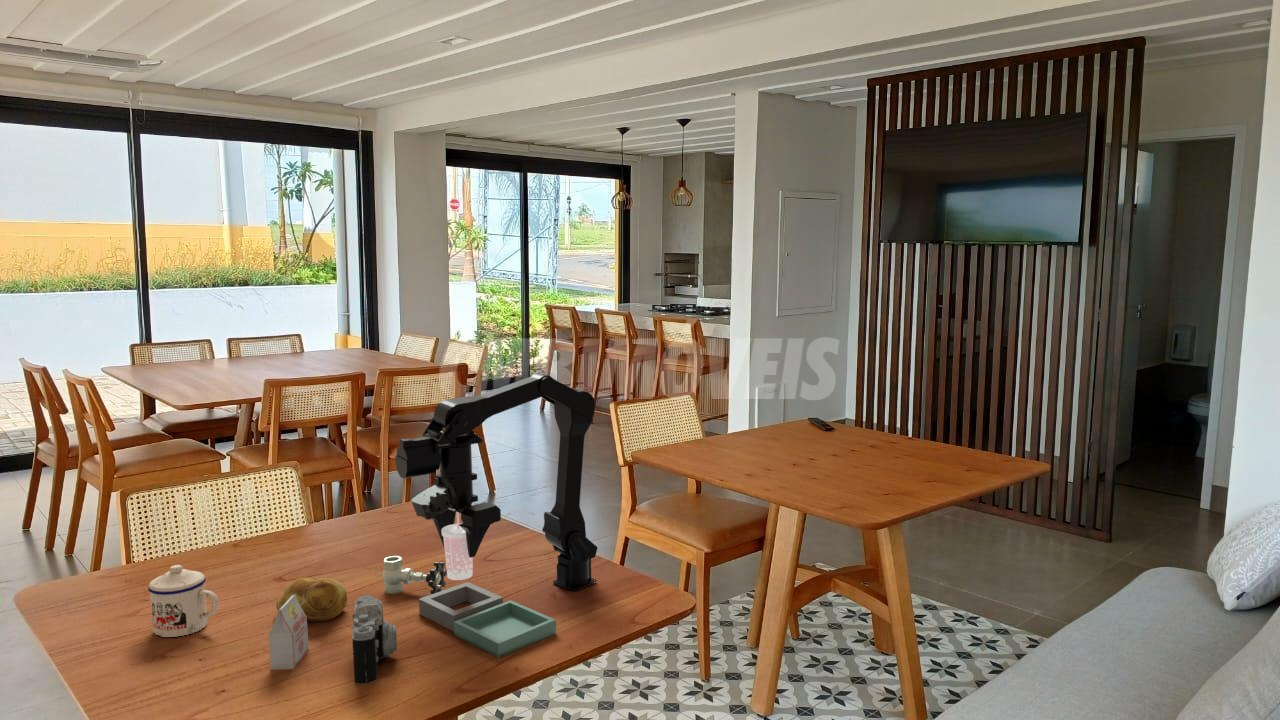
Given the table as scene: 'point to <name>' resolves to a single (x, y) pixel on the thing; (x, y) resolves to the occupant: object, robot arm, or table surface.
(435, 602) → the holder block
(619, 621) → the table surface
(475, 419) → the robot arm
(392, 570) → the valve
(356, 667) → the camera
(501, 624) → the tray
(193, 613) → the teacup with lid
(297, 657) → the milk carton
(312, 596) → the bread roll
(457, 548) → the beverage cup
